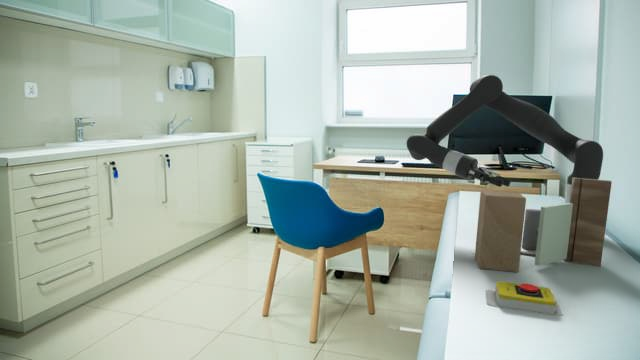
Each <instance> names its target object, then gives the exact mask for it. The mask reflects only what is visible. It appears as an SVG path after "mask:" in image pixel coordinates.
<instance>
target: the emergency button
mask: <svg viewBox="0 0 640 360" xmlns="http://www.w3.org/2000/svg"><path fill="white" fill-rule="evenodd" d="M485 300H486V301H485V302H486V304H487V306H490V307H495V308H496V307H498V308H503V309H509V310H516V311H522V312H530V313H536V314H544V315H549V316H556V317H563V315H564V314H563V312H562V310H561V307H560V305H559V304H558V301H557V300H556V299H555V296H554V295H553V293H552V290H551V288H550V287H549V288H548V287H544V286H537V285H534V284H531V283H515V282H507V281H503V280H502V281H501V280H499V281H498V280H497V282H496V286H495V290H491V289H486V290H485Z"/></svg>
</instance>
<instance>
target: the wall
mask: <svg viewBox="0 0 640 360" xmlns="http://www.w3.org/2000/svg"><path fill="white" fill-rule="evenodd" d="M612 184H613V183H612V180H607V179H606V180H605V179H598V180H597V179H585V178H572V186H571V195H570V203H573V209H572V217H571V226H570V234H569V242H568V250H567V259H564V260H562V261H563V262H568V263H573V264H574V263H576V264H581V265H589V266H593V267H594V266H595V267H602V266H601V265H602V258H603V251H604V242H605V238H606V237H605V236H606V227H607V221H608V211H609V205H610V199H611V197H610V196H611V191H612V190H611V189H612ZM520 255H523V256H528V257H535V256H536V252H530V251H525V250H521V253H520Z"/></svg>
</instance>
